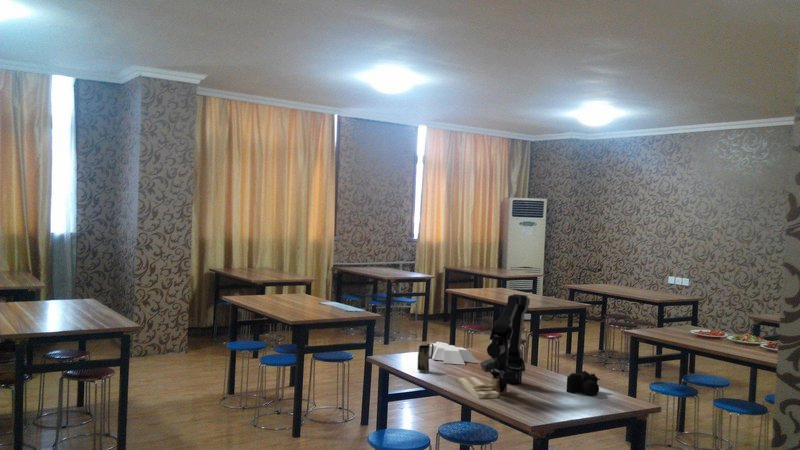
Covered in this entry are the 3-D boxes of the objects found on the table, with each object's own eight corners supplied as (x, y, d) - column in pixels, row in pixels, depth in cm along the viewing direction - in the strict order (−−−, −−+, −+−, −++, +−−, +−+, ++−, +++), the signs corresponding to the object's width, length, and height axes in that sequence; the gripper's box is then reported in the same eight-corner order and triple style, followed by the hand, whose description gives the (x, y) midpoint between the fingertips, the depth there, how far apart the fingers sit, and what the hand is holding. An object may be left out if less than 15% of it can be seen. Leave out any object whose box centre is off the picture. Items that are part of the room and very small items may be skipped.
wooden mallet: (502, 391, 267) (502, 377, 267) (506, 394, 263) (507, 380, 263) (471, 393, 263) (472, 378, 262) (475, 396, 259) (476, 381, 259)
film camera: (575, 397, 264) (576, 376, 264) (563, 391, 273) (564, 370, 273) (607, 396, 268) (608, 375, 268) (594, 390, 277) (595, 369, 277)
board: (473, 381, 281) (474, 377, 281) (498, 398, 258) (499, 393, 258) (455, 382, 278) (455, 377, 278) (478, 399, 255) (478, 394, 255)
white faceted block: (408, 352, 334) (409, 342, 334) (436, 348, 347) (436, 338, 347) (456, 367, 308) (456, 356, 308) (483, 362, 320) (484, 351, 320)
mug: (421, 371, 294) (423, 346, 293) (414, 369, 298) (416, 343, 298) (435, 370, 298) (436, 344, 298) (428, 367, 303) (429, 342, 302)
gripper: (474, 348, 270) (472, 384, 271) (493, 359, 252) (491, 398, 253) (497, 348, 274) (495, 384, 274) (518, 358, 256) (516, 396, 256)
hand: (499, 390), depth 264 cm, fingers closed on wooden mallet, 4 cm apart
